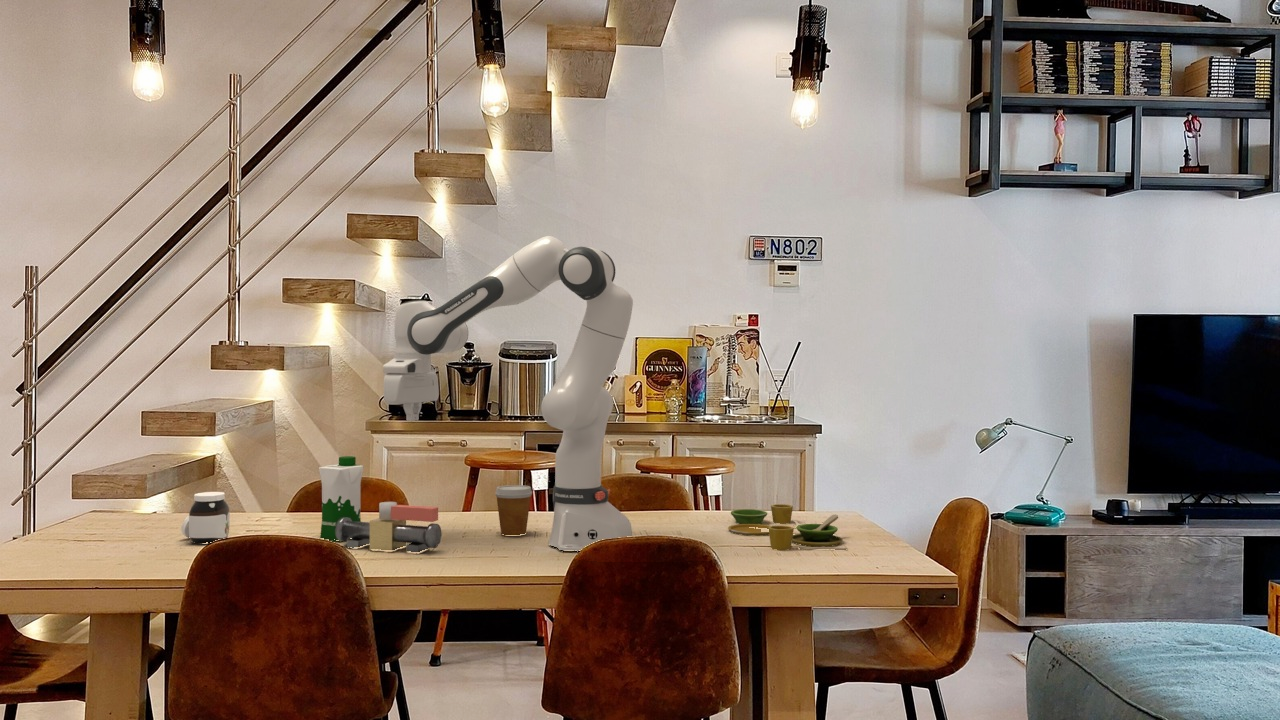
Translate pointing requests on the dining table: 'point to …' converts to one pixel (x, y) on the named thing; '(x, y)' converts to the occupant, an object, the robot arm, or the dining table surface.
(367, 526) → the grey pipe with feet
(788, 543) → the tableware set
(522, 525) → the disposable coffee cup
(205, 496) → the spread jar
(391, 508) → the lever
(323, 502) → the soya milk
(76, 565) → the dining table surface
